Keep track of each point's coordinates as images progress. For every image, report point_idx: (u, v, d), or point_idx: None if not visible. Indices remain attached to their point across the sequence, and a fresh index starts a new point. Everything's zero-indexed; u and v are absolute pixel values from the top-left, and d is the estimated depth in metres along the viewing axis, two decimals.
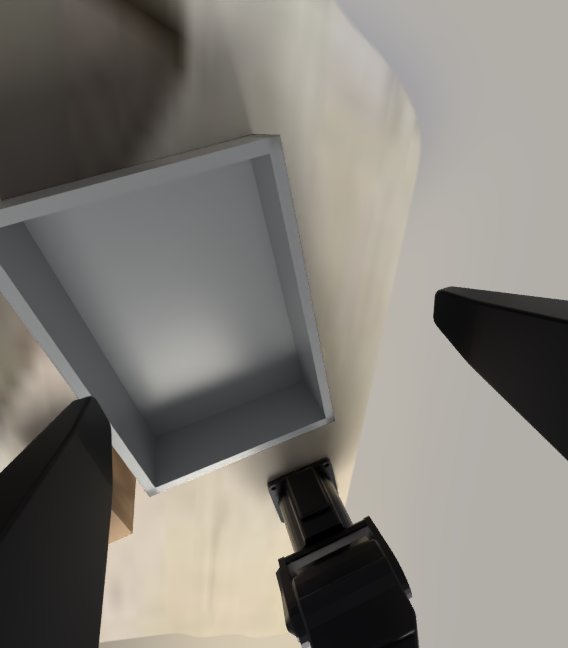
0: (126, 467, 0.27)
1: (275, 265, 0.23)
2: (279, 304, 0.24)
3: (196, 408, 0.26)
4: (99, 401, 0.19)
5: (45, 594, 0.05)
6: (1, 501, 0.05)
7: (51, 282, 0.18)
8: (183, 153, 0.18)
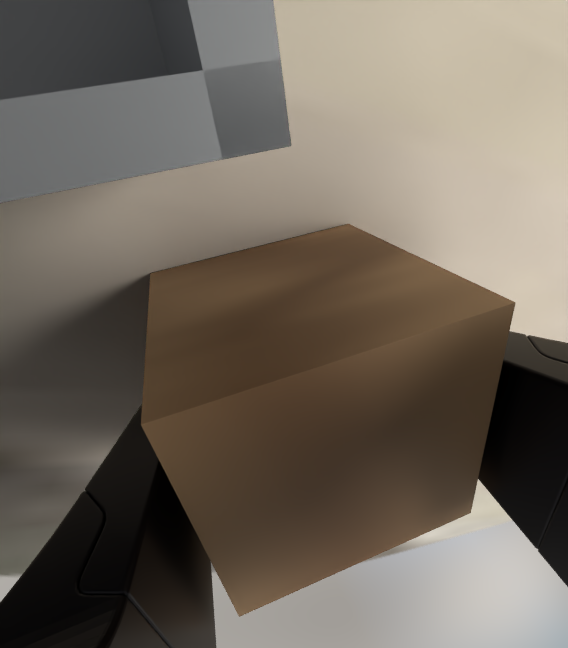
0: (296, 245, 0.08)
1: None
2: None
3: None
4: None
5: (182, 540, 0.05)
6: (139, 454, 0.05)
7: None
8: None
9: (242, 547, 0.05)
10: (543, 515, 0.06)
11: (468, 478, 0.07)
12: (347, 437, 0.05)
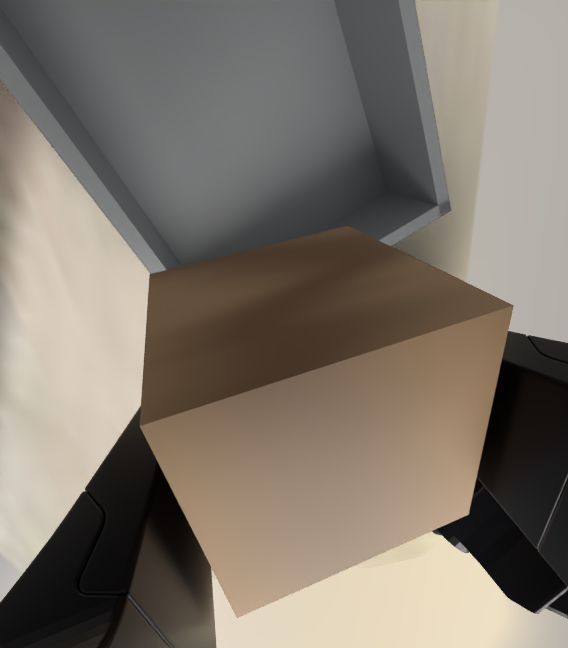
0: (296, 247, 0.08)
1: None
2: (338, 48, 0.16)
3: (250, 248, 0.19)
4: (103, 180, 0.12)
5: (182, 540, 0.05)
6: (139, 454, 0.05)
7: None
8: None
9: (240, 548, 0.05)
10: (544, 515, 0.06)
11: (466, 480, 0.07)
12: (346, 439, 0.05)
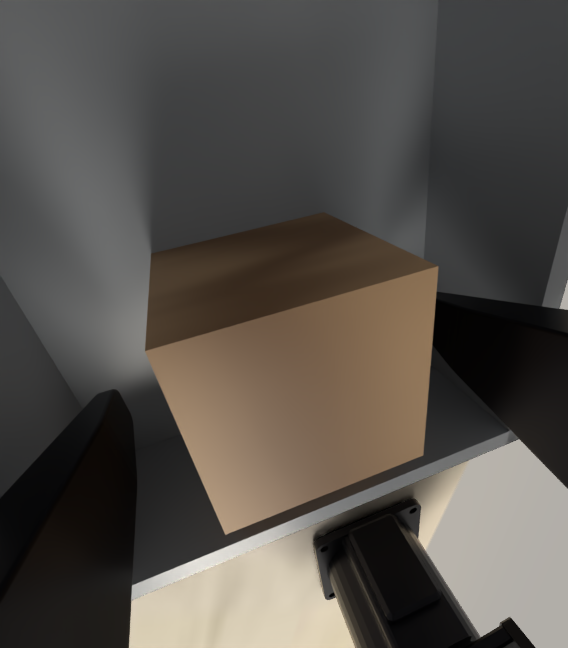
0: (277, 229, 0.09)
1: (433, 44, 0.09)
2: (417, 161, 0.10)
3: None
4: None
5: (83, 579, 0.05)
6: (39, 488, 0.05)
7: None
8: None
9: (226, 467, 0.07)
10: None
11: (417, 421, 0.08)
12: (308, 374, 0.06)
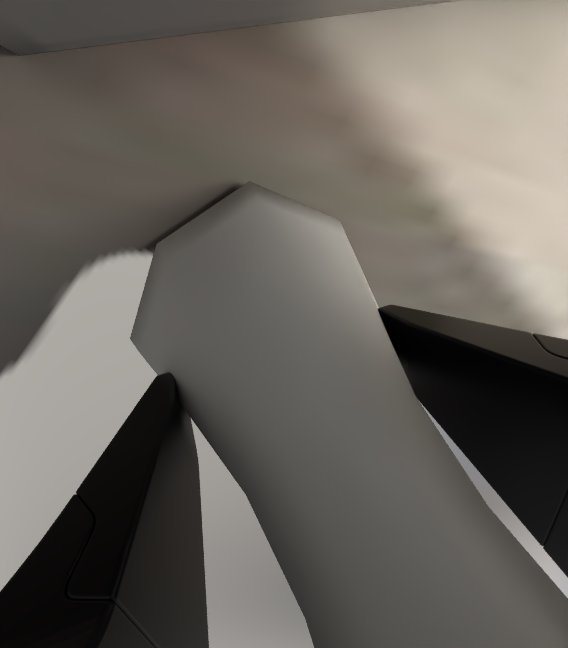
0: None
1: None
2: None
3: None
4: None
5: (174, 543, 0.05)
6: (131, 457, 0.05)
7: None
8: None
9: None
10: (549, 512, 0.06)
11: None
12: None
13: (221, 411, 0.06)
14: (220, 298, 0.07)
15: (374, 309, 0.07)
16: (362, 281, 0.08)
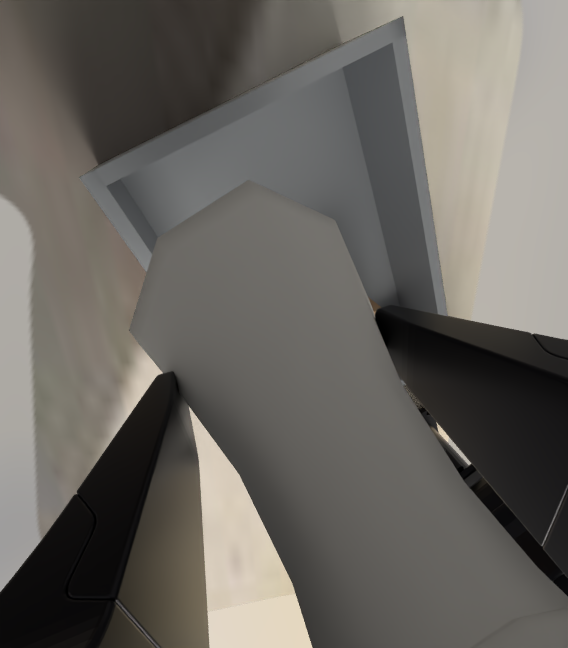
0: None
1: (373, 197, 0.21)
2: (378, 241, 0.22)
3: None
4: None
5: (175, 543, 0.05)
6: (131, 457, 0.05)
7: None
8: (275, 77, 0.16)
9: None
10: (549, 513, 0.06)
11: None
12: None
13: (218, 396, 0.07)
14: (218, 289, 0.07)
15: (365, 303, 0.08)
16: (355, 277, 0.08)
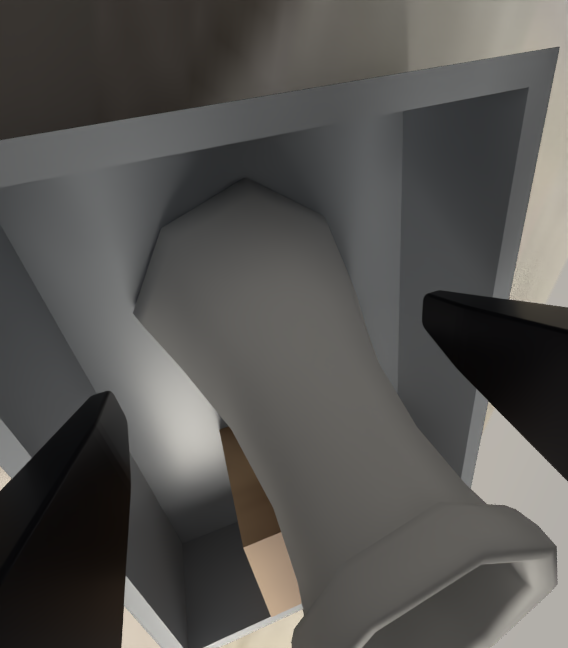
0: None
1: (398, 299, 0.15)
2: (390, 356, 0.16)
3: None
4: None
5: (73, 583, 0.05)
6: (30, 491, 0.05)
7: (36, 321, 0.10)
8: None
9: (275, 586, 0.12)
10: None
11: None
12: None
13: (214, 365, 0.07)
14: (216, 273, 0.08)
15: (347, 289, 0.08)
16: (339, 266, 0.09)
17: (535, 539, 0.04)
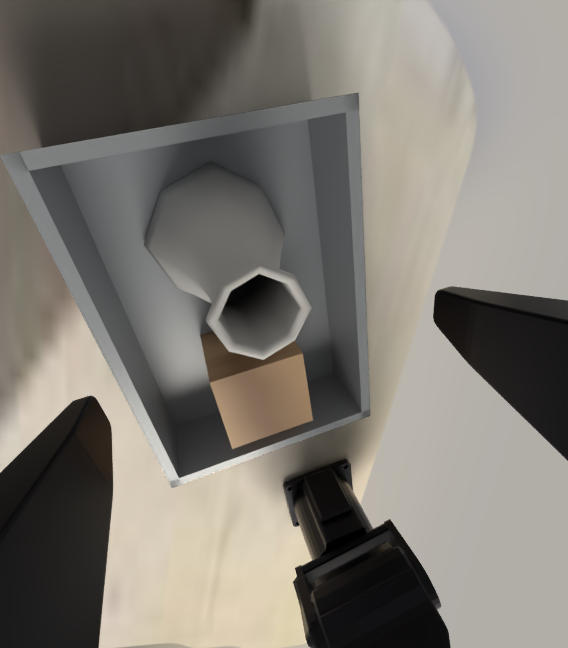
0: None
1: (320, 246, 0.22)
2: (319, 289, 0.23)
3: None
4: (132, 377, 0.17)
5: (45, 594, 0.05)
6: (1, 501, 0.05)
7: (89, 243, 0.17)
8: None
9: (233, 421, 0.19)
10: None
11: (306, 405, 0.20)
12: (260, 388, 0.19)
13: (187, 253, 0.14)
14: (190, 211, 0.15)
15: (262, 220, 0.16)
16: (261, 210, 0.16)
17: (286, 272, 0.11)
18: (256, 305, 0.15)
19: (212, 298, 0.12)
